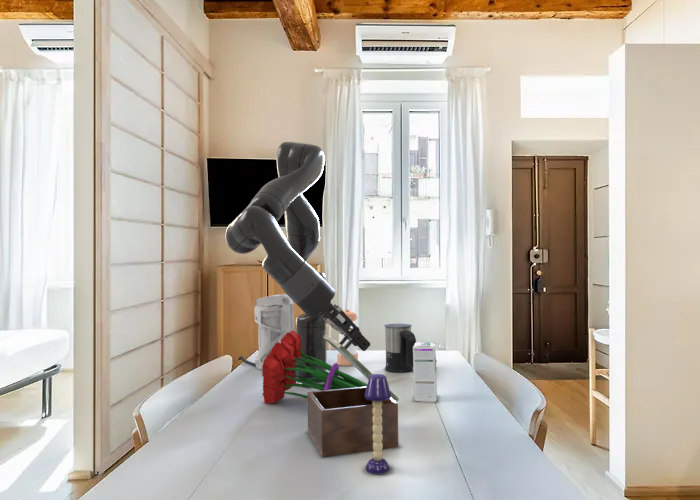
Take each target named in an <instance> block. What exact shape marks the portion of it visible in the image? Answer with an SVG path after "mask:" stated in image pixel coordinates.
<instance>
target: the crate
mask: <svg viewBox="0 0 700 500" xmlns="http://www.w3.org/2000/svg"><path fill="white" fill-rule="evenodd" d="M366 388H367V386H366V387H355V388H345V389H334V390H323V391H321V390H314V391H307V394H306V395H307V396H308V398H307V434H308V436H309V437H310V439H311V440H312V443H313V444H314V446H315V447H316V449H317V451H318V452H319V454H320V455H321V458H325V457H333V456H342V455H347V454H348V455H349V454H356V453H363V452H371V451H372V452H373V451H374V450H373V442H374V441H373V433H374V432H373V416H374V415H373V403H372V402H373V401H371V400H368V399H366V398H365V392H366ZM381 407H382V415H381V416H382V436H383V439H382V444H383V448H382V450H387V449H393V448H399V403H398V401H397V402H396V401H395V400H393V399H392V398H390V399H389V400H385V401H382V406H381Z"/></svg>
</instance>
